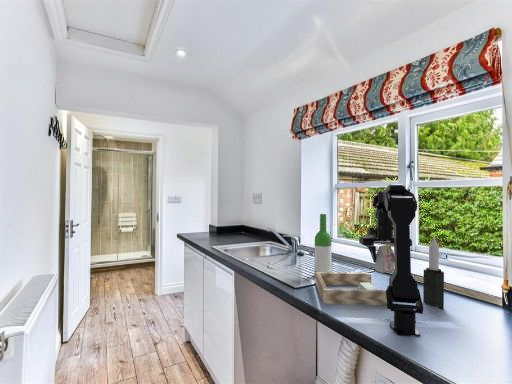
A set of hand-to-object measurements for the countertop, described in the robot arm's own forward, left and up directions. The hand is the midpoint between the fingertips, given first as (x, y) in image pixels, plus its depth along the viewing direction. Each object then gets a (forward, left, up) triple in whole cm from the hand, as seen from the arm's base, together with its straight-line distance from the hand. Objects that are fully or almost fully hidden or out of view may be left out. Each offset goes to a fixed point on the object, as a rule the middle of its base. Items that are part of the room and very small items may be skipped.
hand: (384, 262), depth 116 cm
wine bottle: (+20, +21, -13) cm, 32 cm away
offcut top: (-3, +6, -11) cm, 13 cm away
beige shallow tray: (-3, +15, -13) cm, 20 cm away
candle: (-11, -13, -13) cm, 21 cm away
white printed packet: (0, 0, -3) cm, 3 cm away
